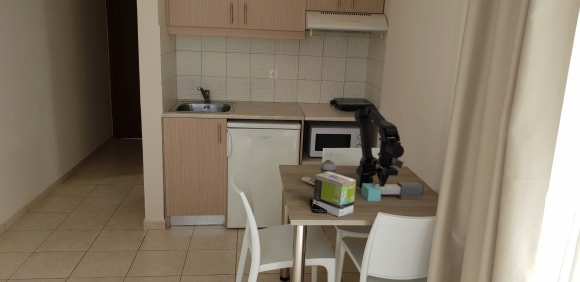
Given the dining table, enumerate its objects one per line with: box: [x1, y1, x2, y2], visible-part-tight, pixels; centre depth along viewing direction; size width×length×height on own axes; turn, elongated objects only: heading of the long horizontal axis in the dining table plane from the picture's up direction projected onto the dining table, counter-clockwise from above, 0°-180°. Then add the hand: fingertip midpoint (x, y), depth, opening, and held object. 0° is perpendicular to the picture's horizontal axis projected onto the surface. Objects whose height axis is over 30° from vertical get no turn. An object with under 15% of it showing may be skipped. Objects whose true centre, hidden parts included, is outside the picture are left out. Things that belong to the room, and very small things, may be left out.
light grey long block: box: [372, 178, 402, 195], centre depth 212 cm, size 17×4×8 cm, turn 100°
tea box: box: [312, 171, 357, 218], centre depth 192 cm, size 15×10×15 cm
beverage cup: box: [320, 151, 337, 173], centre depth 213 cm, size 7×7×20 cm
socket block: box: [360, 182, 382, 202], centre depth 211 cm, size 6×9×6 cm, turn 11°
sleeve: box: [396, 181, 425, 201], centre depth 215 cm, size 11×5×7 cm, turn 101°
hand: (382, 184), depth 211 cm, fingers closed on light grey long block, 2 cm apart
